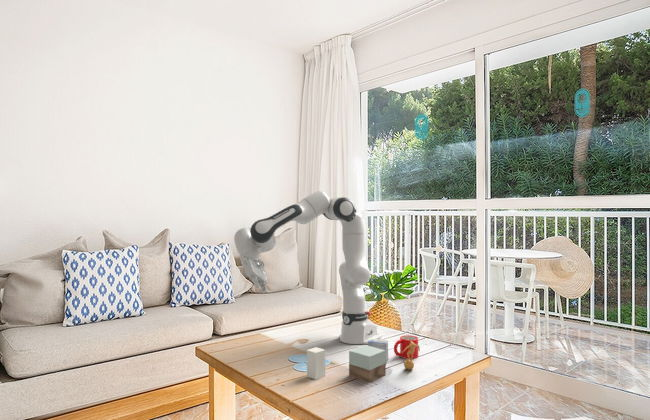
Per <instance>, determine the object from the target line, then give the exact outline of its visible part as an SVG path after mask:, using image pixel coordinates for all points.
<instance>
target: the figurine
mask: <svg viewBox="0 0 650 420" xmlns="http://www.w3.org/2000/svg"><path fill="white" fill-rule="evenodd" d="M416 346H417V347H418V353H419V352H420V351H421V349H420V348H421V347H420V345H419V344H418V345H416V344H414V343H413V342H412V341H410V345H409V346H407V347H406V348H405V349H404V350H403V352H404V351H405V350H406V349H407V348H409V347H410V350H409V351H408V353H407V356H408V358H406V359H405V360H404V361H403V367H404V368H405V369H406V370H408V371H411V370H413V369H414V367H415V363H414V361H413V359H412V358H413V355H412V354H413V353H414V352H415V351H414V349H415V347H416ZM403 352H402V353H403ZM410 353H411V357H412V358H411V359H410V356H409V354H410Z"/></svg>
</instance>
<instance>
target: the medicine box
mask: <svg viewBox="0 0 650 420" xmlns="http://www.w3.org/2000/svg"><path fill="white" fill-rule="evenodd" d="M367 346H371V347H375V348H379V349H382V350H386V364H387V363H388V361H389V340H388V339H381V338H379V339H370V340H369V341H368V344H367Z"/></svg>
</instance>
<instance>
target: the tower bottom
mask: <svg viewBox="0 0 650 420" xmlns="http://www.w3.org/2000/svg"><path fill="white" fill-rule="evenodd" d="M386 365H387V363H385V364H383V365H381V366H378V367H376V368H374V369H371V370H367V369H364V368H361V367H358V366H355V365H351V364H349V363H348V376H349V377H350V378H355V379H357V380H360V381H363V382H366V383H372V382H374V381H376V380H379V379H381V378H383V377H385V376H387V375H386V373H387V371H386V369H387V368H386Z"/></svg>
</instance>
